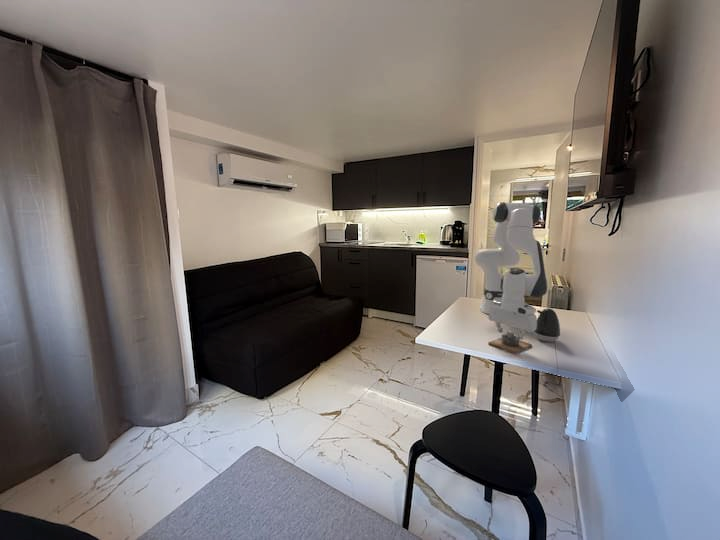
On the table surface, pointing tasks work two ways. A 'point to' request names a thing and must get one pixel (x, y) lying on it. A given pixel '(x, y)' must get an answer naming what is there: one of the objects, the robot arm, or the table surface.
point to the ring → (509, 340)
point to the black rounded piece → (547, 326)
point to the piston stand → (511, 349)
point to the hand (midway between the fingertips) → (509, 335)
